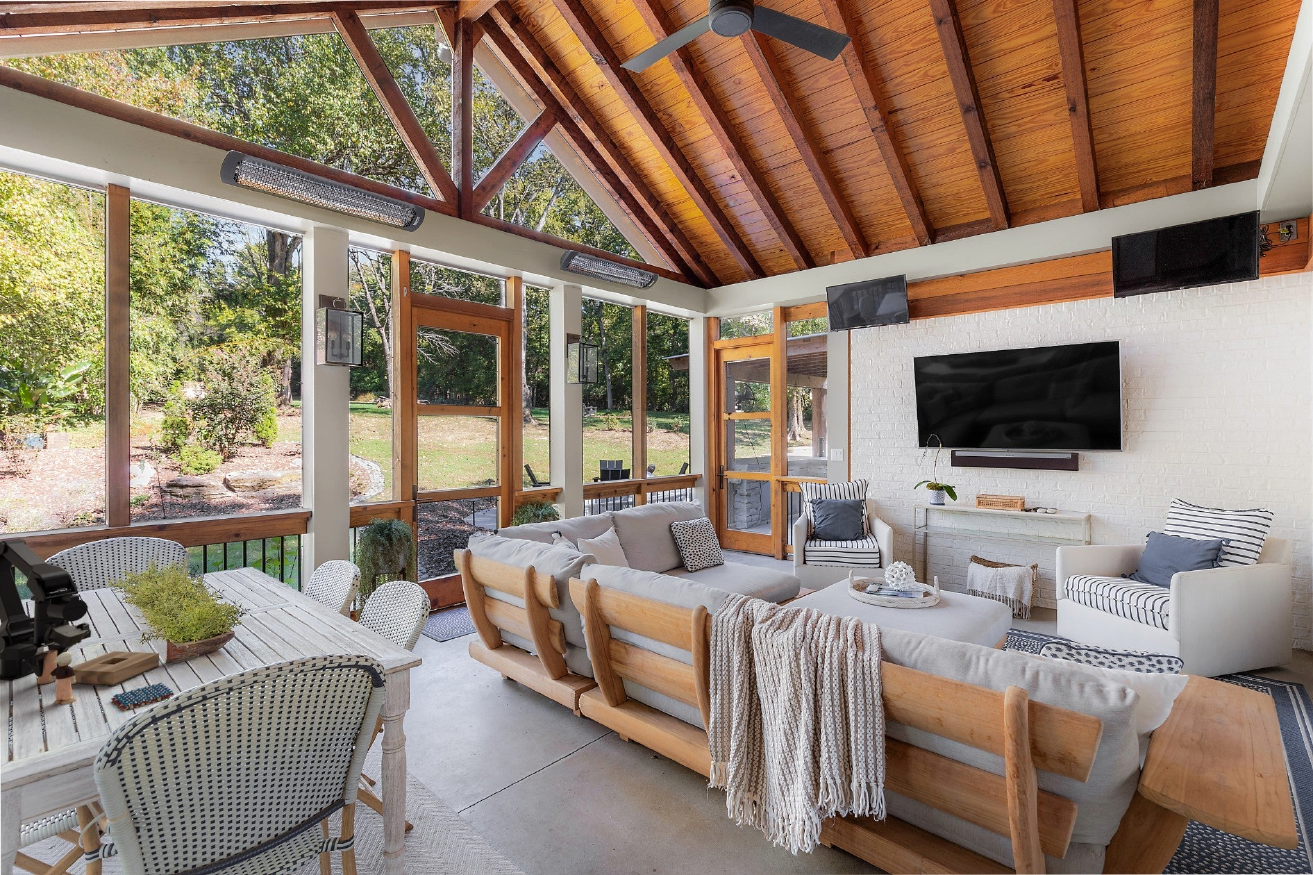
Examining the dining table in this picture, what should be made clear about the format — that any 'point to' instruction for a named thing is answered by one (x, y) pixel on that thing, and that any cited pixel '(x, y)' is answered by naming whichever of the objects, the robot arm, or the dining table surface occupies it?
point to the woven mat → (141, 696)
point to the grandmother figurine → (63, 678)
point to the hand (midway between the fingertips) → (47, 673)
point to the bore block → (114, 668)
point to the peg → (48, 667)
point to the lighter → (178, 654)
